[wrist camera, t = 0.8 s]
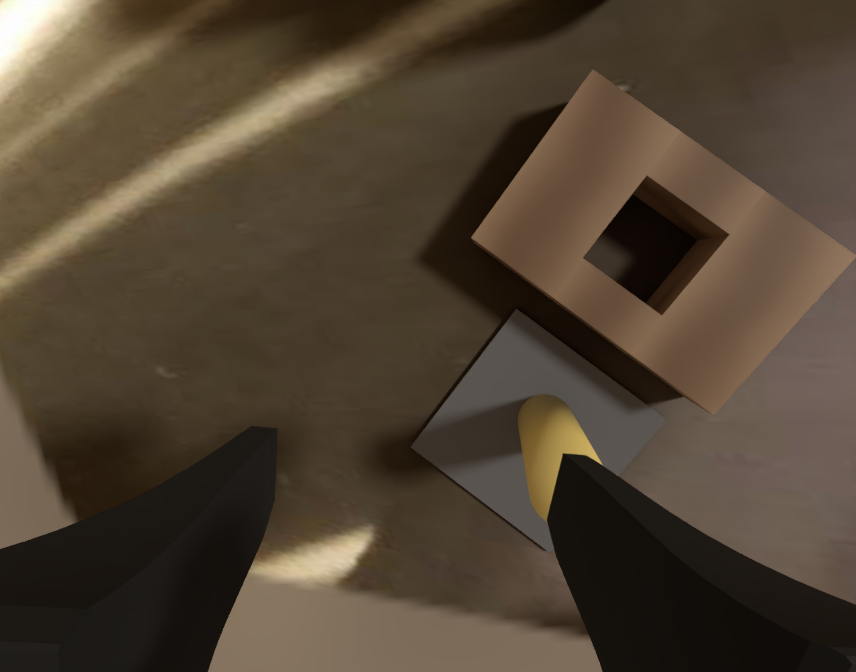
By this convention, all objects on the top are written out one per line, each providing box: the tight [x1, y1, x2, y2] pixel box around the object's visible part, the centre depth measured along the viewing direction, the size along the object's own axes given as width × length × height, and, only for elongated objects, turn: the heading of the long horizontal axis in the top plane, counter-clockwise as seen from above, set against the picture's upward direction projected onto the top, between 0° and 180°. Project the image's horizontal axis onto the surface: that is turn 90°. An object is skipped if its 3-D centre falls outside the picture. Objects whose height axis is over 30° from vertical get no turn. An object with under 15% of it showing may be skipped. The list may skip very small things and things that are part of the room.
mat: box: [411, 309, 667, 553], centre depth 27 cm, size 10×10×1 cm
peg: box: [518, 394, 602, 522], centre depth 22 cm, size 3×3×9 cm
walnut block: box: [471, 70, 856, 415], centre depth 24 cm, size 14×9×4 cm, turn 54°
